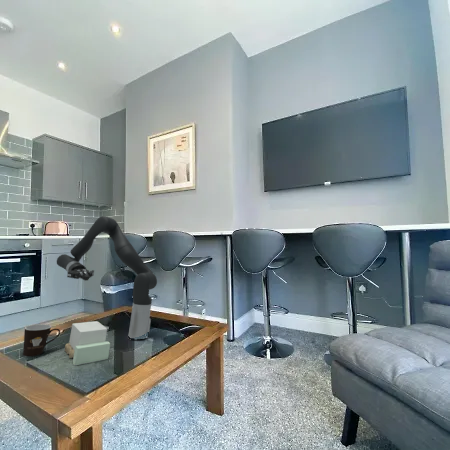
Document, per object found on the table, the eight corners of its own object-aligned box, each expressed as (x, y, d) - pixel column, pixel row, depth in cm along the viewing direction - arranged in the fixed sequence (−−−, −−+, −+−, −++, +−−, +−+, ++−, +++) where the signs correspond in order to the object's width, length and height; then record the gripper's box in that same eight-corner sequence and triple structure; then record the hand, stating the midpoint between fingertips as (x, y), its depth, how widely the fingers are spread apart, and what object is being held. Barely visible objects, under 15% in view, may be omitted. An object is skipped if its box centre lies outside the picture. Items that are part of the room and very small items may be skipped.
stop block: (105, 356, 102) (107, 341, 103) (107, 358, 100) (110, 343, 100) (72, 362, 94) (75, 346, 94) (74, 365, 91) (77, 348, 92)
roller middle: (98, 340, 110) (100, 344, 107) (96, 345, 110) (98, 350, 108) (67, 344, 101) (68, 349, 99) (66, 350, 102) (67, 355, 100)
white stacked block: (94, 339, 111) (97, 321, 112) (104, 349, 101) (107, 329, 103) (68, 343, 104) (72, 323, 105) (76, 353, 95) (80, 332, 96)
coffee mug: (14, 357, 93) (20, 330, 94) (26, 349, 101) (31, 323, 103) (49, 357, 96) (54, 330, 97) (58, 349, 104) (62, 324, 106)
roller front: (102, 343, 106) (103, 348, 104) (100, 348, 107) (101, 354, 105) (70, 348, 98) (71, 353, 96) (68, 354, 99) (69, 359, 97)
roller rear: (98, 340, 110) (97, 347, 110) (95, 338, 112) (94, 346, 112) (67, 344, 102) (66, 352, 101) (65, 343, 104) (64, 350, 103)
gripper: (62, 263, 127) (72, 272, 115) (90, 262, 137) (101, 270, 125) (60, 277, 127) (70, 287, 115) (88, 275, 137) (100, 284, 125)
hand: (86, 278), depth 120 cm, fingers closed
